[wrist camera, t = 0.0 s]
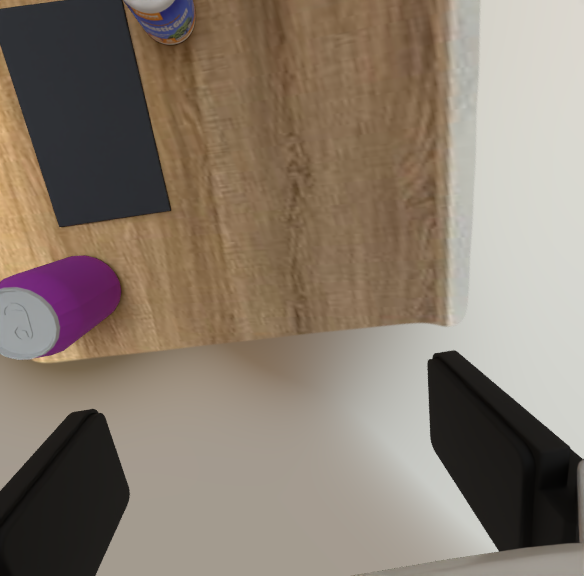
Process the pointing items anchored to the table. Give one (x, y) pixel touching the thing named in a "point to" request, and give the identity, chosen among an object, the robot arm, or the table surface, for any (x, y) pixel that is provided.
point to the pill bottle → (165, 18)
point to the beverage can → (54, 305)
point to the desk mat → (84, 108)
